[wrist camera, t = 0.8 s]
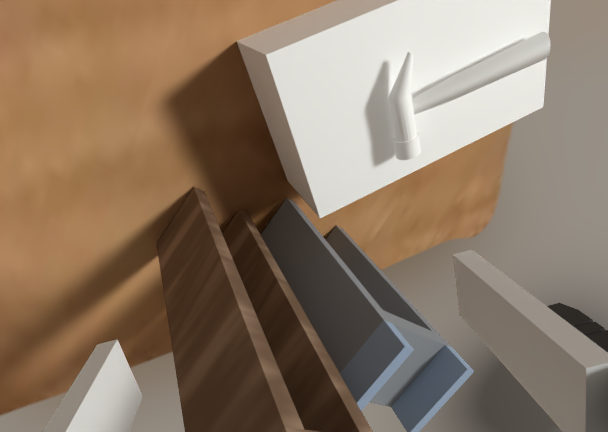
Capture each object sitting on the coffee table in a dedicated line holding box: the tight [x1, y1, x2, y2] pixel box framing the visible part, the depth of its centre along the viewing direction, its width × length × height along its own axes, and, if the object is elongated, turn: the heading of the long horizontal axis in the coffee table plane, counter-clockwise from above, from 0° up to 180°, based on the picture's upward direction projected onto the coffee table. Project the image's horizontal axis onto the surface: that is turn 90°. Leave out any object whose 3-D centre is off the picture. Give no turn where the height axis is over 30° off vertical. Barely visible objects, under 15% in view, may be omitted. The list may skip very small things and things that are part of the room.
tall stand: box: [157, 187, 373, 432], centre depth 30 cm, size 6×7×28 cm
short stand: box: [261, 198, 474, 432], centre depth 37 cm, size 9×7×22 cm
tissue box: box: [237, 0, 551, 218], centre depth 36 cm, size 14×25×11 cm, turn 107°
